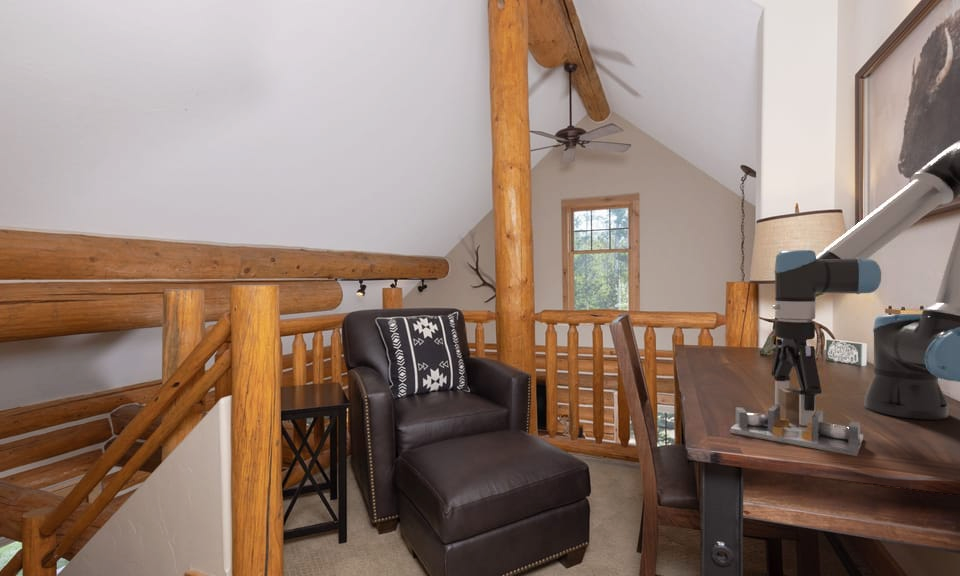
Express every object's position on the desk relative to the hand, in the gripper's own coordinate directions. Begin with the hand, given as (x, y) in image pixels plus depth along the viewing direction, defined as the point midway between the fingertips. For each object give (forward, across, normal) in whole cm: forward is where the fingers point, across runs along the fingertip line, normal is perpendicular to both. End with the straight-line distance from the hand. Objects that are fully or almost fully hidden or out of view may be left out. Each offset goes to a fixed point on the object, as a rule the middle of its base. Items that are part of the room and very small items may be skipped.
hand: (793, 416), depth 111 cm
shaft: (0, +8, -11) cm, 14 cm away
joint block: (+1, 0, 0) cm, 1 cm away
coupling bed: (+1, +11, -4) cm, 12 cm away
